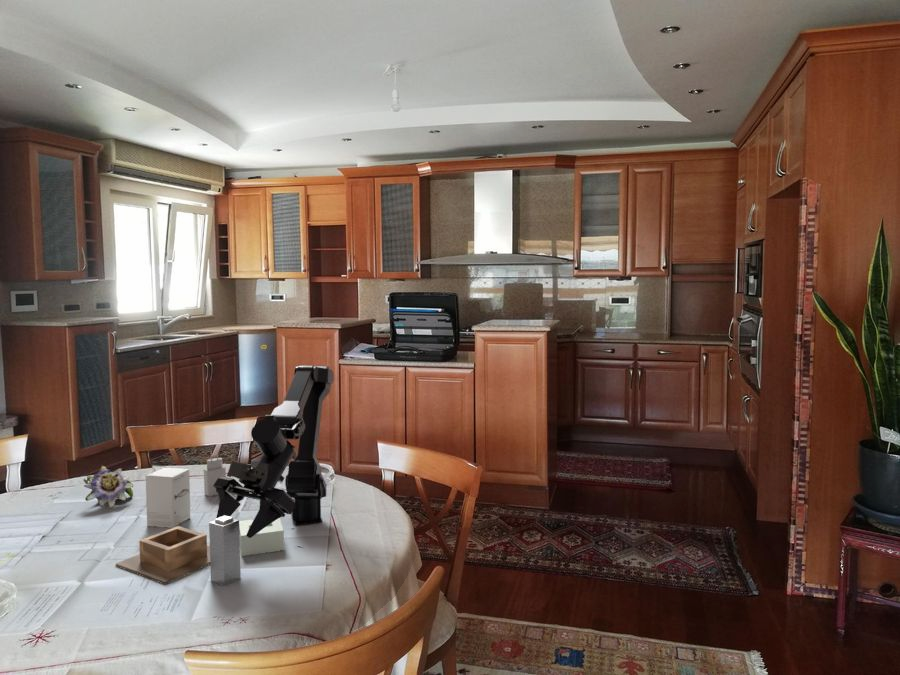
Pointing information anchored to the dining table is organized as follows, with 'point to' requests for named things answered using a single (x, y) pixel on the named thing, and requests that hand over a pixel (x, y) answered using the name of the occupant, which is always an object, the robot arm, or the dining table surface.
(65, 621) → the dining table surface
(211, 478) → the power adapter
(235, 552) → the square bit
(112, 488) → the passion flower
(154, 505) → the supplement box
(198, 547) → the square sleeve
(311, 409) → the robot arm
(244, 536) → the narrow slot block
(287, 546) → the dining table surface
